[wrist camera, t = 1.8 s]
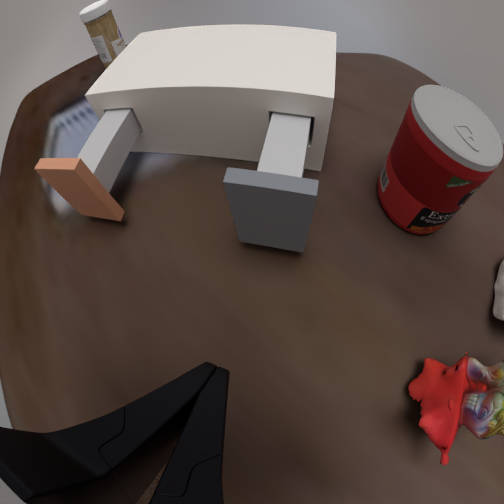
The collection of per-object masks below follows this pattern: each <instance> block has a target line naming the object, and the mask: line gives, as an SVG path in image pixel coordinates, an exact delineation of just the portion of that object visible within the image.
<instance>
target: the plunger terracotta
mask: <svg viewBox="0 0 504 504" xmlns="http://www.w3.org/2000/svg"><path fill="white" fill-rule="evenodd" d="M141 130H142V127H141V125H140V123H139V121H138V119H137V117H136V115H135V113H134V111H133V108H132V107H131V108H116V109H107V111H106V112H105V114H104V115H103V117H102V118H101V120H100V121H99V123H98V124H97V126H96V128H95V129H94V131H93V132H92V134H91V135H90V137H89V139H88V140H87V142H86V144H85V145H84V147H83V149H82V150H81V152H80V154H79V156H78V157H77V158H45V159H40V160H39V162H38V163H37V165H36V167H35V170H36V171H37V172H38V173H39V174H40V175H41V176H42V177H43V178H44V179H45V180H46V181H47V182H48V183H49V184H50V185H51V186H52V187H53V188H54V189H55V190H56V191H57V192H58V193H59V194H60V195H61V196H62V197H63V198H64V199H65V200H66V201H67V202H68V203H69V204H71V205H72V206H73V207H74V208H75V209H76V210H77V211H78V212H79V213H80V214H81V215H85V216H92V217H98V218H104V219H110V220H116V221H121V219H122V217H123V214H124V212H125V211H124V210H123V209H122V208H121V207H120V205H119V204H118V203H117V202H116V201H115V200H114V198H113V197H112V196H111V195H110V194H109V192H110V190H111V188H112V186H113V184H114V182H115V180H116V178H117V176H118V173H119V171H120V169H121V167H122V165H123V164H124V162H125V160H126V158H127V156H128V154H129V152H130V150H131V148H132V146H133V145H134V143H135V141H136V139H137V137H138V136H139V134H140V132H141Z"/></svg>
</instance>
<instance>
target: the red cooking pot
mask: <svg viewBox="0 0 504 504" xmlns="http://www.w3.org/2000/svg"><path fill="white" fill-rule="evenodd" d="M494 290H495V300H494V306H493V315H494V316H495V317H496V318H498V319H500V320H503V321H504V259H503V261H502V262H501V264H500V267H499V271H498V276H497V280H496V282H495V284H494Z"/></svg>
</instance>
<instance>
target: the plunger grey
mask: <svg viewBox="0 0 504 504" xmlns="http://www.w3.org/2000/svg"><path fill="white" fill-rule="evenodd" d="M311 120H312V116H305V115H298V114H290V113H282V112H274V111H273V113H272V117H271V121H270V124H269V128H268V132H267V135H266V139H265V143H264V146H263V150H262V154H261V157H260V161H259V165H258V169H257V171H254V170H246V169H238V168H229V167H228V168H227V171H226V174H225V177H224V180H223V184H224V187H225V191H226V195H227V198H228V202H229V206H230V209H231V213H232V216H233V220H234V224H235V227H236V231H237V235H238V238H239V241H240V242H246V243H251V244H257V245H263V246H268V247H274V248H280V249H286V250H291V251H297V252H302V253H304V250H305V246H306V241H307V237H308V233H309V228H310V224H311V220H312V215H313V211H314V206H315V201H316V197H317V189H318V182H319V180H313V179H307V178H303V173H304V167H305V160H306V154H307V147H308V141H309V134H310V127H311Z"/></svg>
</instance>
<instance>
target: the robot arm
mask: <svg viewBox="0 0 504 504" xmlns="http://www.w3.org/2000/svg"><path fill="white" fill-rule="evenodd" d="M228 384H229V370H226V369H224V368H221V367H218V368H217V366H216V365H214V364H212V363H209V362H204V363H203V364H201V365H199V366H197V367H196V368H194V369H192V370H190V371H189V372H187V373H185V374H183V375H182V376H180V377H178V378H176V379H174V380H173V381H171V382H169V383H167V384H165V385H164V386H162V387H160V388H158V389H156V390H154V391H152V392H151V393H149V394H147V395H145V396H143V397H141V398H139V399H137V400H135V401H133V402H131V403H129V404H127V405H126V406H125V407H121V408H119V409H117V410H115V411H113V412H111V413H109V414H107V415H104V416H102V417H100V418H97V419H94V420H91V421H88V422H85V423H82V424H79V425H76V426H73V427H69V428H66V429H63V430H59V431H55V432H50V433H36V432H28V431H21V430H15V429H9V428H3V427H0V504H135V503H136V502H137V501H138V499H139V498H140V497H141V496H142V494H143V493H144V492H145V490H146V489H147V488H148V486H149V485H150V484H151V482H152V481H153V480H154V478H155V477H156V476H157V474H158V473H159V472H160V470H161V469H162V468H163V466H164V465H165V464H166V462H167V461H168V459H169V458H170V459H169V461H168V463H167V465H166V468H165V470H164V472H163V474H162V476H161V478H160V481H159V483H158V485H157V487H156V489H155V491H154V494H153V496H152V498H151V500H150V502H149V504H224V500H223V489H222V463H223V448H224V434H225V422H226V409H227V397H228Z"/></svg>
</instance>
